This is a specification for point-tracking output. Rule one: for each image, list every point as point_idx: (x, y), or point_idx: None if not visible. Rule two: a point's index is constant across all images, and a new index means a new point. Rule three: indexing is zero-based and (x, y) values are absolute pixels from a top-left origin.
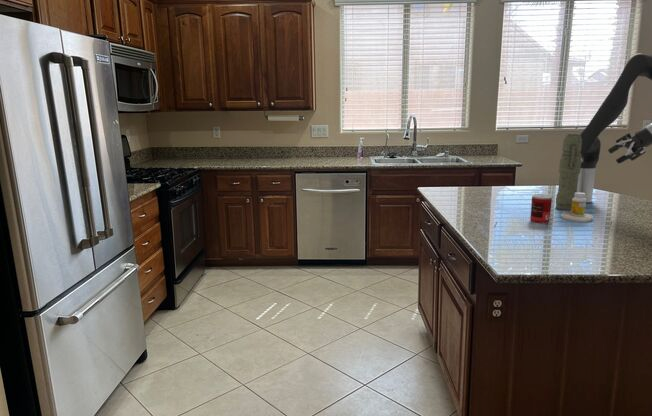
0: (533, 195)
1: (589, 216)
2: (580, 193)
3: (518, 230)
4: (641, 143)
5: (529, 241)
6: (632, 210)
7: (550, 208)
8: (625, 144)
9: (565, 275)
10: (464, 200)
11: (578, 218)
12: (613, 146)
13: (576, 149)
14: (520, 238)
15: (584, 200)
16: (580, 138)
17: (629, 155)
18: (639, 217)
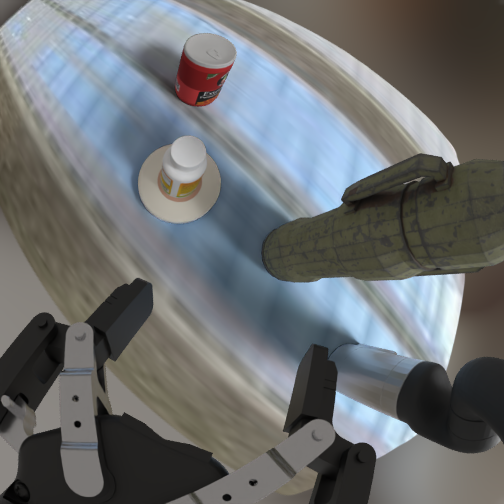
0: (227, 41)
1: (152, 199)
2: (181, 146)
3: (159, 27)
4: (19, 485)
5: (106, 13)
6: (210, 418)
7: (181, 74)
8: (207, 462)
9: (22, 6)
10: (390, 122)
11: (150, 155)
12: (321, 392)
13: (428, 200)
14: (124, 11)
15: (163, 161)
16: (495, 220)
17: (45, 322)
18: (130, 369)
